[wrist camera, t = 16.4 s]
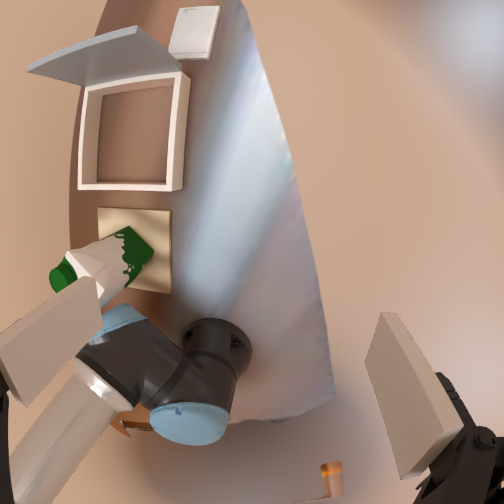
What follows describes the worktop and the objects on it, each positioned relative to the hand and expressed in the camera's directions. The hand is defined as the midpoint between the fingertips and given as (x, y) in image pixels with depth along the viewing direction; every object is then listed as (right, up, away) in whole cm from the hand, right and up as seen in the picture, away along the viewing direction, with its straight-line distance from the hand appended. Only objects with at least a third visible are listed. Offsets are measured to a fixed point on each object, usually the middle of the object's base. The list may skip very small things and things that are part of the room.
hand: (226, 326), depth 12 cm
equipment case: (-20, +28, +32) cm, 47 cm away
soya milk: (-22, +3, +39) cm, 45 cm away
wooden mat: (-22, +4, +40) cm, 46 cm away
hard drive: (-9, +43, +27) cm, 52 cm away
